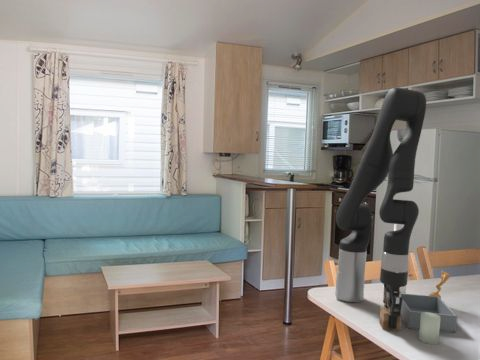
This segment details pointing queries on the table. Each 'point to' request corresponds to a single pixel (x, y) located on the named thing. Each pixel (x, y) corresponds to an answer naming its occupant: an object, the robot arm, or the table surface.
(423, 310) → the tote
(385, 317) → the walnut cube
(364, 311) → the table surface
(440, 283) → the figurine
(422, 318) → the sage cylinder
